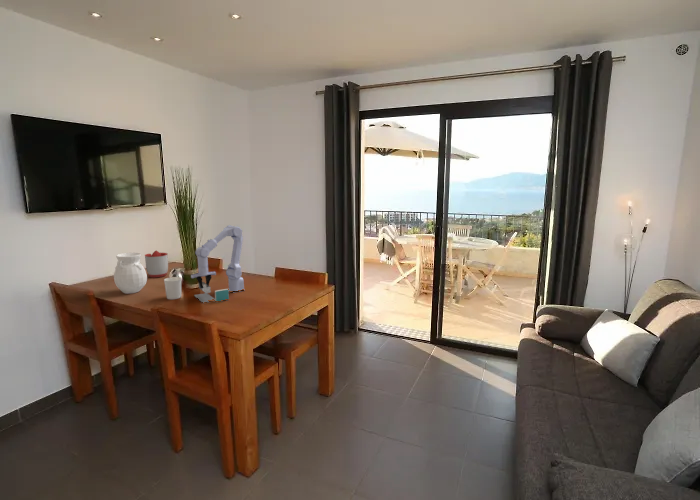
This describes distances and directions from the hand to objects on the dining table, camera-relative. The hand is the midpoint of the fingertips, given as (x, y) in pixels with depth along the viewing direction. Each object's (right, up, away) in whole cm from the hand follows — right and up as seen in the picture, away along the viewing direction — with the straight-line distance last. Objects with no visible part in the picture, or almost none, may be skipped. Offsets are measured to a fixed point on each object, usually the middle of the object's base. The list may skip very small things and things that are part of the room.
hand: (204, 287), depth 227 cm
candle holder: (-20, -7, +2) cm, 21 cm away
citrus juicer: (-57, +3, +53) cm, 78 cm away
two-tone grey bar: (0, -2, 0) cm, 2 cm away
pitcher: (-53, -4, +13) cm, 55 cm away
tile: (+12, -8, -3) cm, 15 cm away
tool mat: (0, -7, +1) cm, 7 cm away
